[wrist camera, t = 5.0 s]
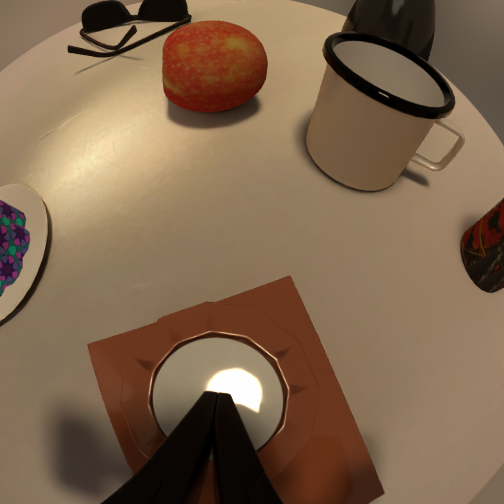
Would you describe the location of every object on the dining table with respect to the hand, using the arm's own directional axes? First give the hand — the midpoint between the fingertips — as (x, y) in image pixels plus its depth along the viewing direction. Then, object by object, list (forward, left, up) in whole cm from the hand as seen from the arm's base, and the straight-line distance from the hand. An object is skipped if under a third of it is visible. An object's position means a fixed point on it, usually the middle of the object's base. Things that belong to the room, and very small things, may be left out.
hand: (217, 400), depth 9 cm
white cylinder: (0, 0, -3) cm, 3 cm away
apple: (+22, -7, -7) cm, 24 cm away
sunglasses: (+40, 0, -7) cm, 41 cm away
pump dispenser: (+24, -27, -7) cm, 37 cm away
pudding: (+14, +14, -7) cm, 21 cm away
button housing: (-2, 0, -7) cm, 7 cm away
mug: (+12, -17, -7) cm, 22 cm away
